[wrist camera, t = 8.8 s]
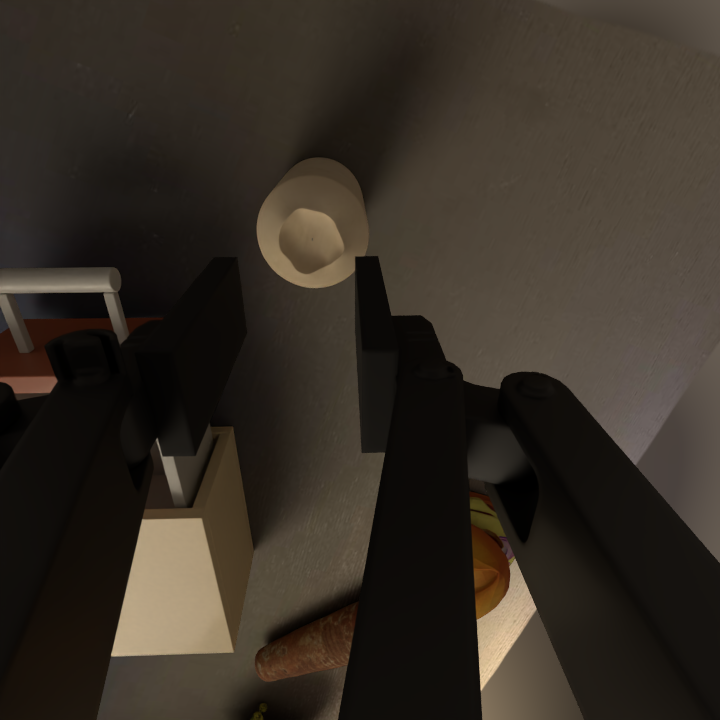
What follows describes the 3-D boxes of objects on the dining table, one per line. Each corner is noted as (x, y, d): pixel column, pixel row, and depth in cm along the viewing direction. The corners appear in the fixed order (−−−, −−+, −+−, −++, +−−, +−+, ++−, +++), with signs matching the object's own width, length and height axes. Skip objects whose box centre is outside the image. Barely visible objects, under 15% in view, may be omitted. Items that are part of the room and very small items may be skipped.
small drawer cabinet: (66, 429, 38) (-13, 523, 30) (233, 426, 39) (201, 517, 30) (115, 555, 46) (63, 658, 38) (254, 551, 46) (234, 652, 38)
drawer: (-8, 245, 30) (-113, 288, 23) (188, 243, 30) (143, 285, 23) (82, 474, 40) (27, 552, 33) (230, 471, 40) (206, 548, 33)
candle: (375, 175, 29) (388, 206, 21) (346, 254, 32) (347, 313, 23) (291, 142, 28) (268, 160, 20) (269, 227, 31) (239, 277, 22)
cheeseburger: (475, 569, 49) (479, 662, 40) (388, 520, 48) (372, 603, 39) (535, 509, 44) (555, 598, 35) (440, 454, 44) (435, 530, 35)
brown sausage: (413, 605, 52) (420, 658, 47) (275, 658, 56) (268, 711, 51) (385, 576, 49) (390, 628, 44) (242, 634, 53) (232, 687, 48)
